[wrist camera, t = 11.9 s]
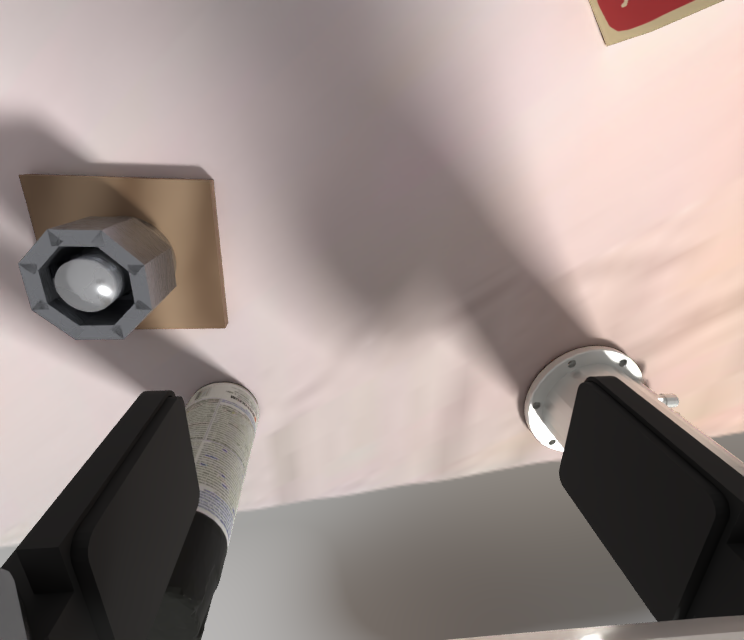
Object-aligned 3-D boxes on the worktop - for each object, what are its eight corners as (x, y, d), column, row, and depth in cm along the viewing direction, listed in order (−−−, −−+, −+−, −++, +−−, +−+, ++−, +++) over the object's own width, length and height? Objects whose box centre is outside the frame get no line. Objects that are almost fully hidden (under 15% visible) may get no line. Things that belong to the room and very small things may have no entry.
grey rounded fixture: (169, 216, 31) (131, 234, 25) (181, 298, 34) (149, 333, 28) (76, 214, 31) (11, 232, 24) (95, 298, 33) (41, 335, 27)
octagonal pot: (166, 217, 30) (138, 230, 25) (180, 311, 32) (157, 338, 28) (57, 215, 29) (7, 228, 24) (81, 311, 32) (40, 340, 27)
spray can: (187, 435, 40) (77, 673, 22) (188, 375, 38) (65, 587, 20) (257, 439, 42) (207, 670, 23) (262, 381, 39) (211, 588, 21)
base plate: (213, 179, 32) (209, 180, 31) (228, 322, 37) (225, 328, 35) (29, 174, 30) (18, 175, 29) (69, 324, 35) (60, 330, 34)
